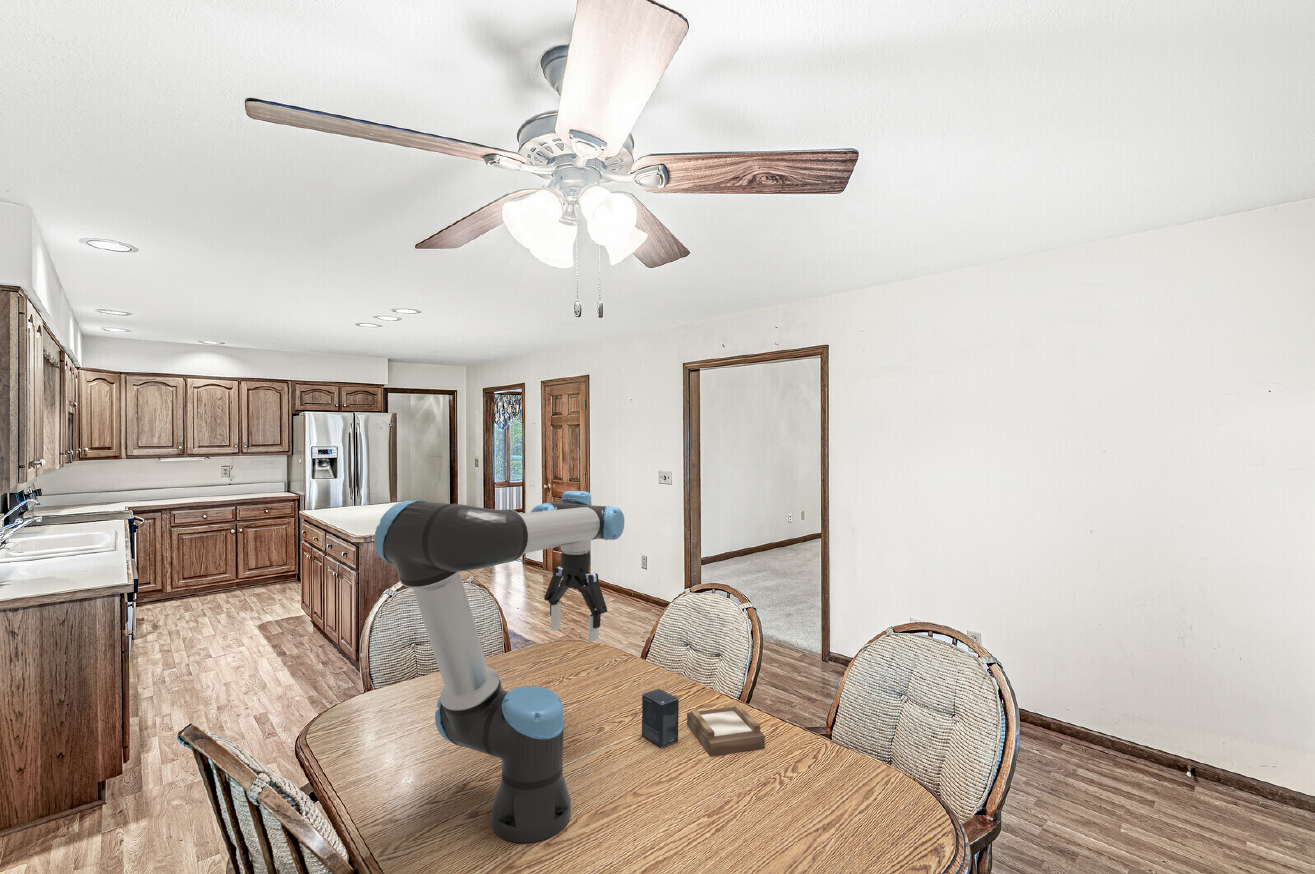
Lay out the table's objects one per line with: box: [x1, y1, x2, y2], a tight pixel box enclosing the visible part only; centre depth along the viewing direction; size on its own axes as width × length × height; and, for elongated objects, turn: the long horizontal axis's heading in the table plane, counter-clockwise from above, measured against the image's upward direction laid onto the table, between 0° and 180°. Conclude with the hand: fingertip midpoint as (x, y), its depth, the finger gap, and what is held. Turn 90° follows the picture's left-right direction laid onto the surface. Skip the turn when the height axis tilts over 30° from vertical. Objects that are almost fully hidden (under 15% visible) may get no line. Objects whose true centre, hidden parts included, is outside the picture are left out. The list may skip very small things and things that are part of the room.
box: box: [641, 688, 680, 749], centre depth 145 cm, size 8×6×11 cm
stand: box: [686, 703, 766, 757], centre depth 147 cm, size 16×14×4 cm
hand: (574, 634), depth 150 cm, fingers open, 13 cm apart
